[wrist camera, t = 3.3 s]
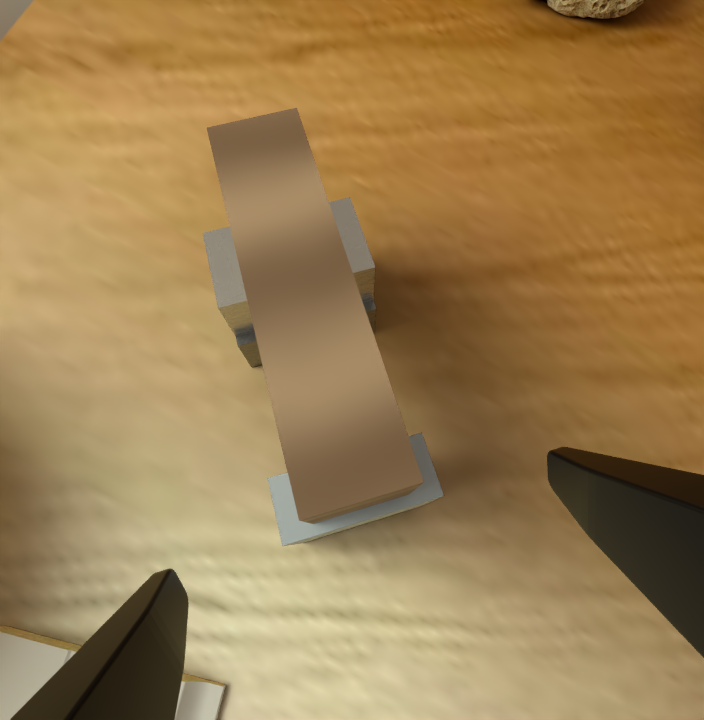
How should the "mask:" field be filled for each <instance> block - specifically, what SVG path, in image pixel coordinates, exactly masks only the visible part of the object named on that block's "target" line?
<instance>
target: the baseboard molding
mask: <svg viewBox="0 0 704 720" xmlns="http://www.w3.org/2000/svg"><path fill="white" fill-rule="evenodd" d="M81 647H82V646H79V645H76V644H72V643H68V642H64V641H61V640H57V639H53V638H49V637H46V636H42V635H38V634H35V633H31V632H27V631H23V630H20V629H16V628H12V627H8V626H0V720H10V719H11V718H12V717H13V716H14V715H15V714H16V713H17V712H18V711H19V710H20V709H21V708H22V707H23V706H24V705H25V704H26V702H27V701H28V700H29V699H30V698H31V697H32V696H33V695H34V694H35V693H36V692H37V691H38V690H39V689H40V688H41V687H42V686H43V685H44V684H45V683H46V682H47V681H48V680H49V679H50V678H51V677H52V676H53V675H54V674H55V673H56V672H57V671H58V670H59V669H60V668H61V667H62V666H63V665H64V664H65V663H66V662H67V661H68V660H69V659H70V658H71V657H72V656H73V655H74V654H75V653H76V652H77V651H78V650H79V649H80V648H81ZM225 687H226V685H225V684H221V683H217V682H214V681H210V680H206V679H202V678H199V677H195V676H191V675H187V674H184V673H183V676H182V682H181V687H180V693H179V698H178V704H177V709H176V714H175V720H217V717H218V713H219V709H220V705H221V702H222V698H223V694H224V690H225Z"/></svg>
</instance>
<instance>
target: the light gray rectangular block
mask: <svg viewBox="0 0 704 720" xmlns="http://www.w3.org/2000/svg"><path fill="white" fill-rule="evenodd" d="M409 440H410V443H411V446H412V449H413V452H414V455H415V457H416V460H417V463H418V466H419V469H420V472H421V475H422V478H423V481H424V483H422V484H421V485H420V486H419V487H417V488H416V489H415V490H414V491H413V492H411V493H410V494H409V495H405V496H402V497H399V498H396V499H392V500H389V501H386V502H383V503H379V504H376V505H373V506H370V507H366V508H363V509H360V510H357V511H353V512H350V513H347V514H344V515H340V516H337V517H334V518H331V519H327V520H324V521H321V522H318V523H314V524H311V523H307V522H303V521H299V518H298V514H297V510H296V505H295V501H294V497H293V493H292V488H291V484H290V480H289V476H288V472H287V473H284V474H280V475H277V476H274V477H270V478H268V482H269V487H270V491H271V496H272V501H273V505H274V510H275V514H276V519H277V523H278V528H279V533H280V537H281V542H282V546H286V545H293V544H300V543H304V542H308V541H311V540H314V539H317V538H321V537H324V536H327V535H330V534H333V533H337V532H340V531H343V530H346V529H349V528H353V527H356V526H359V525H362V524H365V523H369V522H372V521H375V520H378V519H381V518H385V517H388V516H391V515H394V514H398V513H401V512H404V511H407V510H410V509H414V508H417V507H420V506H423V505H425V504H427V503H429V502H431V501H434V500H436V499H438V498H440V497H442V496H444V494H443V491H442V489H441V486H440V483H439V480H438V477H437V474H436V471H435V469H434V466H433V463H432V460H431V457H430V454H429V452H428V449H427V446H426V443H425V440H424V437H423V435H422V433H419V434H415V435H412V436H409Z"/></svg>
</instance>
